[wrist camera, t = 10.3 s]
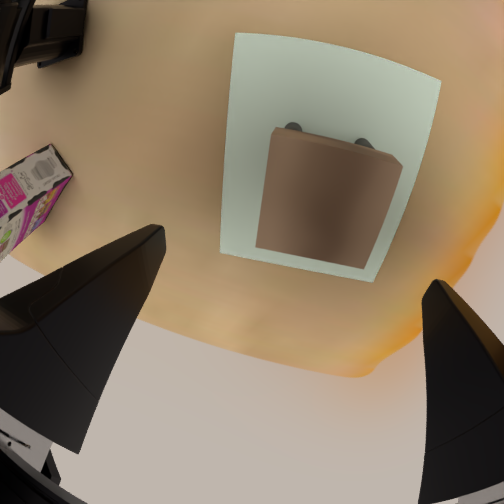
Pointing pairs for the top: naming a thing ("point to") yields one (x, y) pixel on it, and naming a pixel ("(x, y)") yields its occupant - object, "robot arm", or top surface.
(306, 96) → the felt mat
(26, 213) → the candy bar box
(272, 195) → the walnut stool
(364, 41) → the top surface
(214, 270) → the top surface
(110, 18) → the top surface
